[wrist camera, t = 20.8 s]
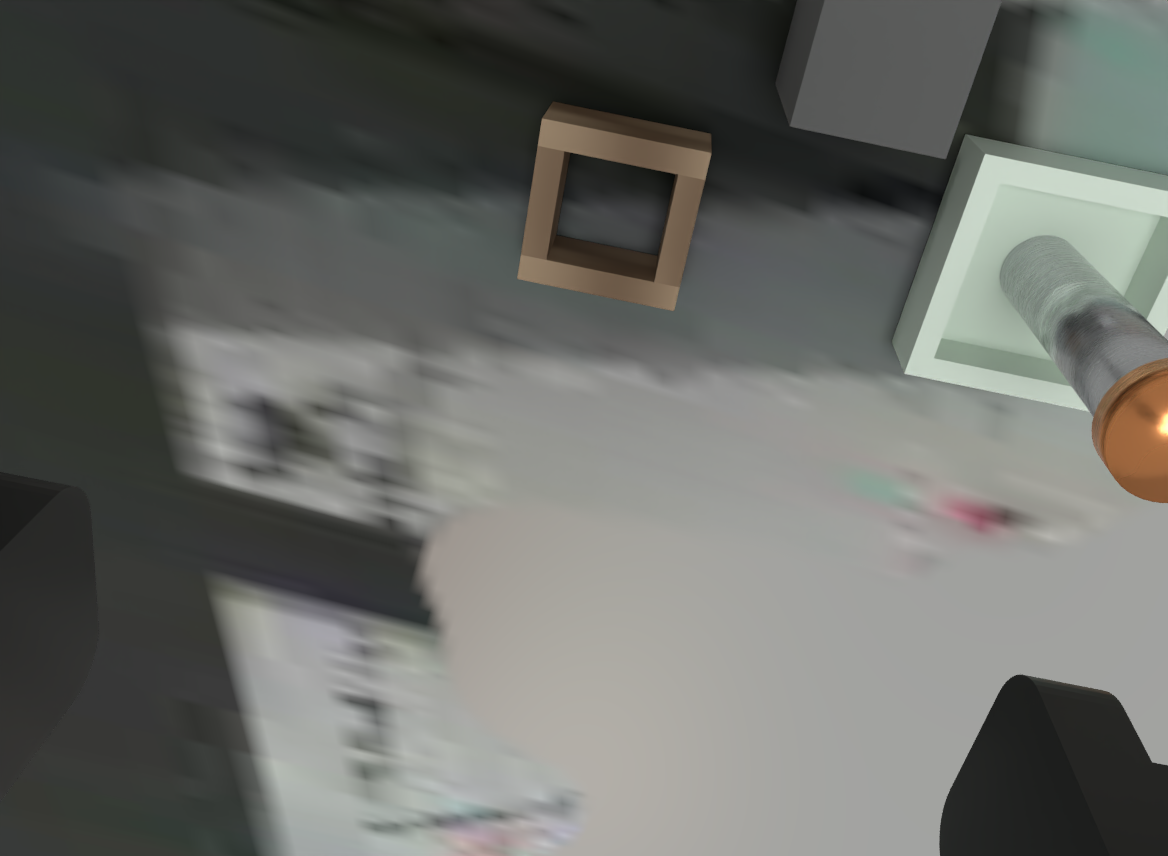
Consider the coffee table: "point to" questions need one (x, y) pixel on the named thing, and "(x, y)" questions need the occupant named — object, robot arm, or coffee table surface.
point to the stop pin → (1098, 356)
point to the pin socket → (602, 264)
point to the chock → (884, 69)
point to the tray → (998, 224)
